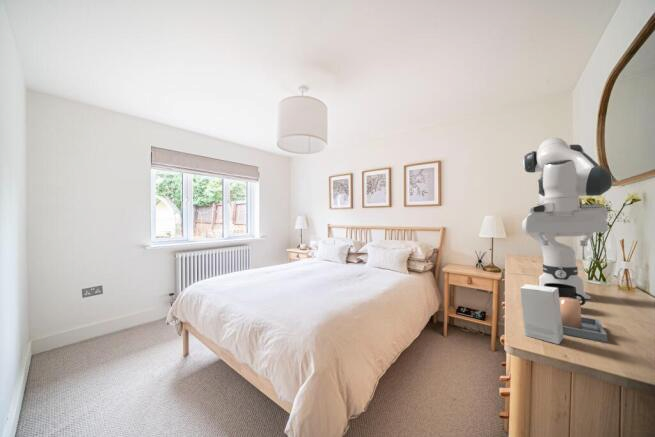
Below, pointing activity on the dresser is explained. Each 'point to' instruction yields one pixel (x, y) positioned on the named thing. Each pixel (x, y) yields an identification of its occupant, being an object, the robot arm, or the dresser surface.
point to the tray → (588, 330)
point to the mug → (566, 291)
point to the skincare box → (542, 313)
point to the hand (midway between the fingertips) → (564, 245)
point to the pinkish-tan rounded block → (570, 312)
